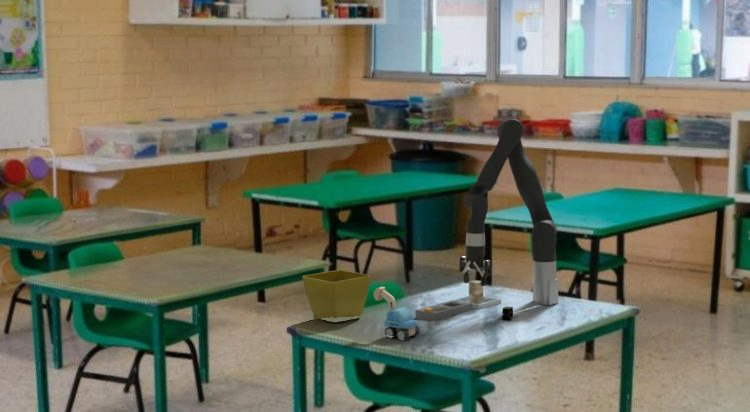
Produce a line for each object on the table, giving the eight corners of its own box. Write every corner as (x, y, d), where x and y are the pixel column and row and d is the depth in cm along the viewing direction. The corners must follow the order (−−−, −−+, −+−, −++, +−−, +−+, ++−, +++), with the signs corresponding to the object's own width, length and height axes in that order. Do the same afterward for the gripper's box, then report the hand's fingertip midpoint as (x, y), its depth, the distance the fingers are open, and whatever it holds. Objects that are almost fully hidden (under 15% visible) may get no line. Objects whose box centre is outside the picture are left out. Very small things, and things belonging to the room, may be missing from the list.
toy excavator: (385, 330, 457) (384, 284, 454) (421, 337, 446) (421, 289, 444) (370, 335, 450) (369, 288, 448) (406, 341, 440) (406, 293, 437)
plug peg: (483, 303, 496) (483, 281, 495) (477, 305, 494) (476, 282, 492) (475, 302, 499) (475, 280, 498) (469, 304, 496) (468, 281, 495)
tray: (501, 305, 497) (501, 299, 496) (479, 311, 487) (479, 304, 486) (473, 300, 506) (473, 294, 506) (451, 306, 496) (451, 300, 496)
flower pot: (302, 318, 479) (301, 275, 476) (341, 311, 491) (340, 269, 489) (333, 327, 464) (332, 282, 462) (372, 319, 476) (371, 275, 474)
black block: (510, 323, 467) (510, 311, 466) (492, 322, 470) (492, 310, 470) (522, 316, 478) (522, 305, 477) (504, 315, 481) (503, 303, 481)
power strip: (472, 311, 487) (471, 301, 486) (435, 321, 470) (435, 311, 470) (451, 308, 493) (451, 298, 493) (415, 317, 477) (415, 307, 477)
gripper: (495, 244, 492) (495, 285, 494) (467, 240, 501) (467, 280, 503) (483, 247, 486) (483, 288, 488) (455, 242, 496) (454, 283, 498)
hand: (474, 284), depth 496 cm, fingers open, 8 cm apart
